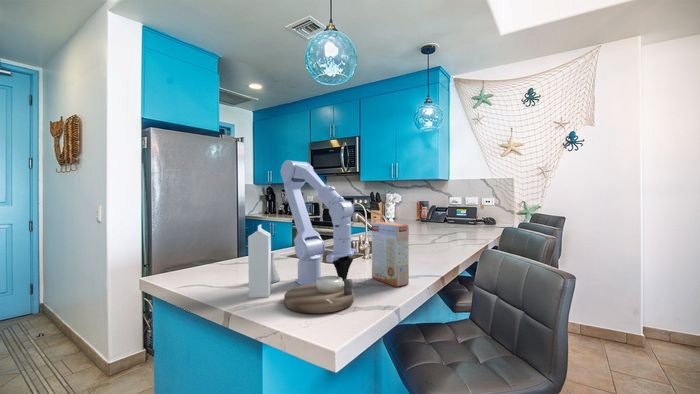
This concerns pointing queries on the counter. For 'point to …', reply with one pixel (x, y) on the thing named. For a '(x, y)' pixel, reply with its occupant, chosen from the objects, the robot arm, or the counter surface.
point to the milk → (259, 263)
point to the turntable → (318, 299)
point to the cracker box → (390, 253)
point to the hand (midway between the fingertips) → (342, 280)
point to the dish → (329, 284)
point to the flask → (274, 271)
